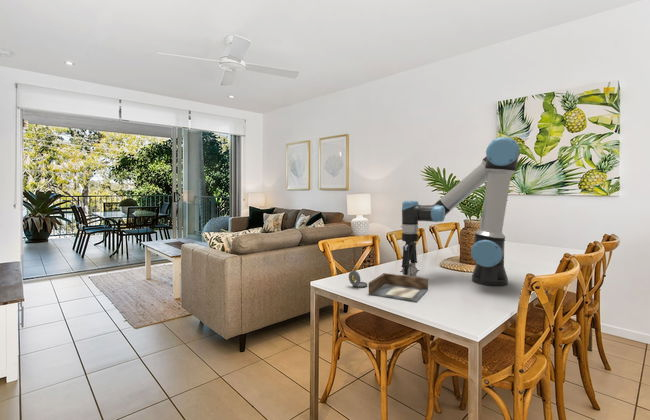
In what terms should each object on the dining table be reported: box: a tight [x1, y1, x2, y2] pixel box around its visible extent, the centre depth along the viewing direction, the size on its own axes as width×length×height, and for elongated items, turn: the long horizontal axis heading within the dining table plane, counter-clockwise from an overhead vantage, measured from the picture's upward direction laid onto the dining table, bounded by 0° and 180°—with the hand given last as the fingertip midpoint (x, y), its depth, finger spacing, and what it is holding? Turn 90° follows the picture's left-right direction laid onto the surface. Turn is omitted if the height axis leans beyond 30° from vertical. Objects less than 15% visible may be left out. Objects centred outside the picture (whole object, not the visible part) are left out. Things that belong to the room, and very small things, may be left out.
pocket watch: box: [348, 265, 368, 288], centre depth 152 cm, size 8×8×10 cm
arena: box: [368, 272, 429, 303], centre depth 142 cm, size 20×18×5 cm
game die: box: [399, 262, 420, 277], centre depth 163 cm, size 9×8×10 cm
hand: (409, 278), depth 163 cm, fingers open, 10 cm apart
